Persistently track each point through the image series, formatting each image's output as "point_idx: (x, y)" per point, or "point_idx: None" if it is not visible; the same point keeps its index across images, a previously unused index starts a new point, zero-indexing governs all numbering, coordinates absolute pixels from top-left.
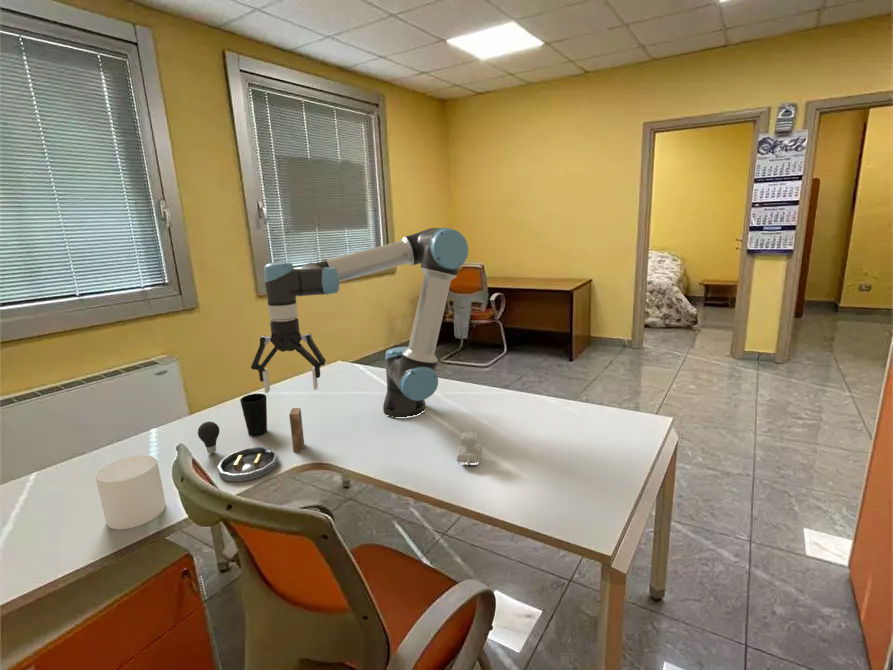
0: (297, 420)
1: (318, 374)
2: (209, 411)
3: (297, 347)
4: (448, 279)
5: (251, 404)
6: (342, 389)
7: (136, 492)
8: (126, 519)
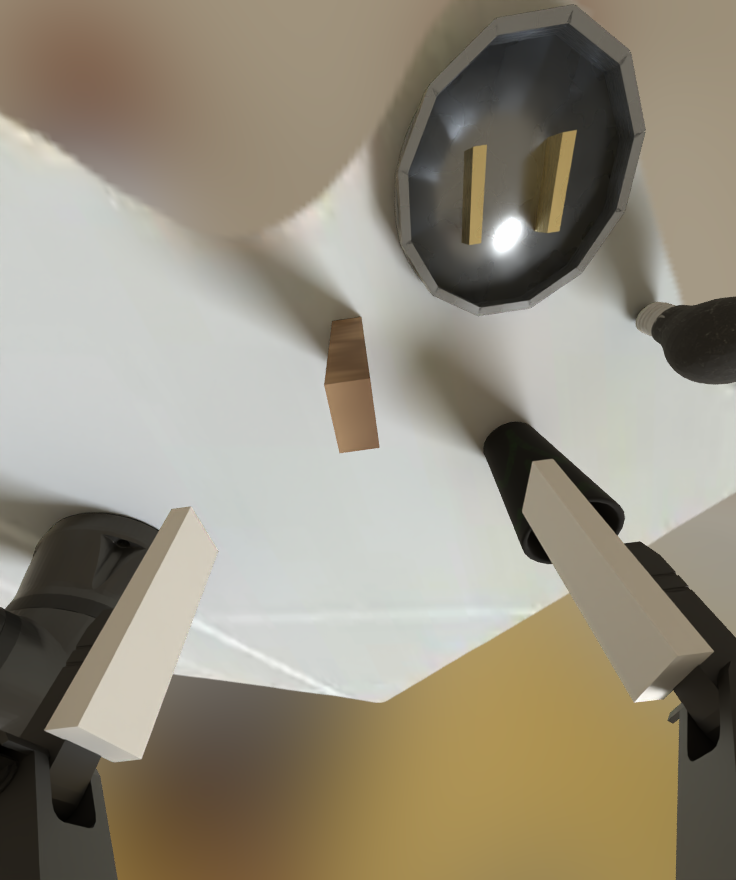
0: (331, 368)
1: (85, 644)
2: (648, 541)
3: None
4: None
5: None
6: (340, 627)
7: None
8: None
